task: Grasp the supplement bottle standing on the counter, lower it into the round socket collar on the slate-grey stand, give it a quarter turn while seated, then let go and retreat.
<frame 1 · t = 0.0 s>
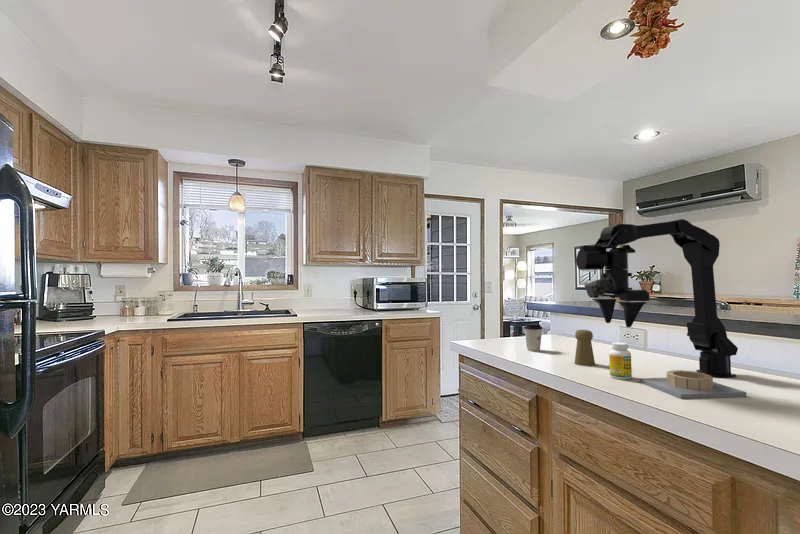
hand: (617, 325, 108), 15 cm above the countertop, fingers open, 9 cm apart
supplement bottle: (620, 378, 108), on the countertop
socket stand: (689, 388, 96), on the countertop
cork: (584, 364, 125), on the countertop
coffee cup: (533, 350, 148), on the countertop
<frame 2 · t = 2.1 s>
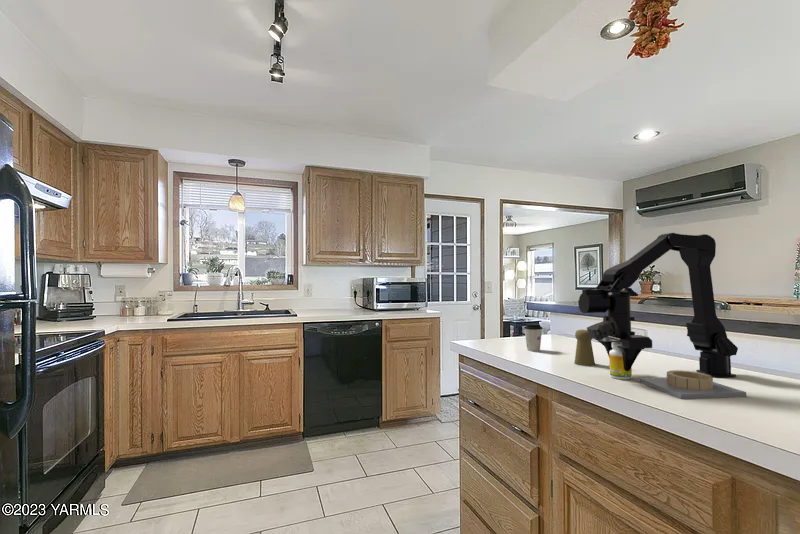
hand: (620, 368, 108), 3 cm above the countertop, fingers closed on supplement bottle, 5 cm apart
supplement bottle: (620, 378, 108), on the countertop, touching gripper
everything else where it was.
when the fingers open (4 cm above the countertop, at t = 8.3 s): supplement bottle stays where it is, resting on socket stand.
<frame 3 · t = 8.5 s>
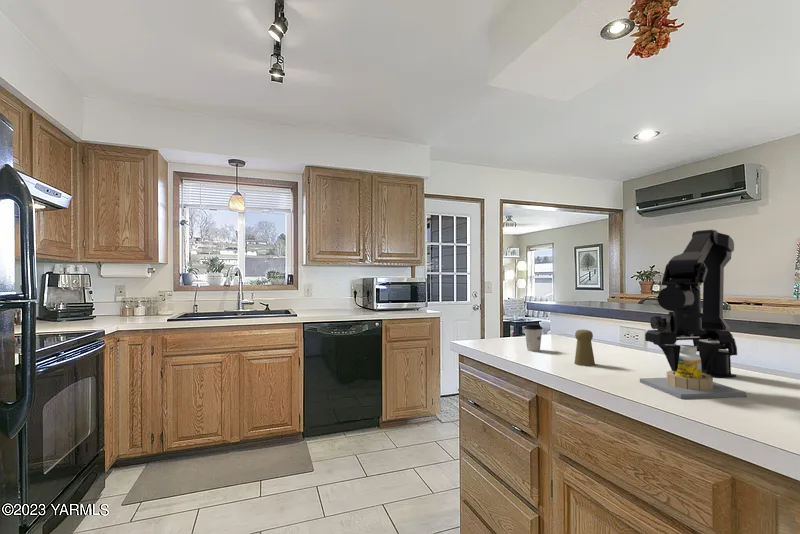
hand: (688, 370, 97), 4 cm above the countertop, fingers open, 7 cm apart
supplement bottle: (688, 385, 97), point 1 cm above the countertop, touching socket stand
everything else where it was.
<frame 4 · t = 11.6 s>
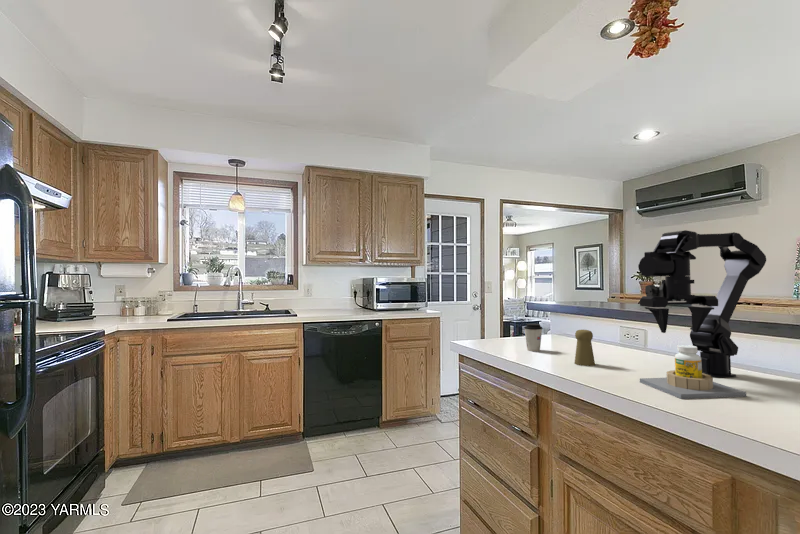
hand: (679, 332, 107), 13 cm above the countertop, fingers open, 9 cm apart
nothing on the countertop moved.
at the end: supplement bottle 0.1 cm off-centre on the socket stand, point 0.8 cm above the socket stand's base; supplement bottle tilted 0°; the gripper is holding nothing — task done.
